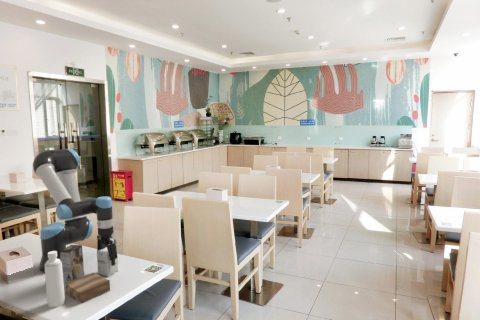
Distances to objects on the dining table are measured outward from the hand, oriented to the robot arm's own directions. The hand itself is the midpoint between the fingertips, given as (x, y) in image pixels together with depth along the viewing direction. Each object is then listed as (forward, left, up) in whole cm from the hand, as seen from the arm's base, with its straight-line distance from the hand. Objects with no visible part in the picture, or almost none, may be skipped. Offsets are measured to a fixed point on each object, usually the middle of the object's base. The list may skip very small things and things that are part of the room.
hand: (108, 268), depth 180 cm
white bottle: (+9, -30, -3) cm, 32 cm away
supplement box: (0, 0, -2) cm, 2 cm away
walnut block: (+11, -17, -2) cm, 20 cm away
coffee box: (-9, -14, -3) cm, 17 cm away
